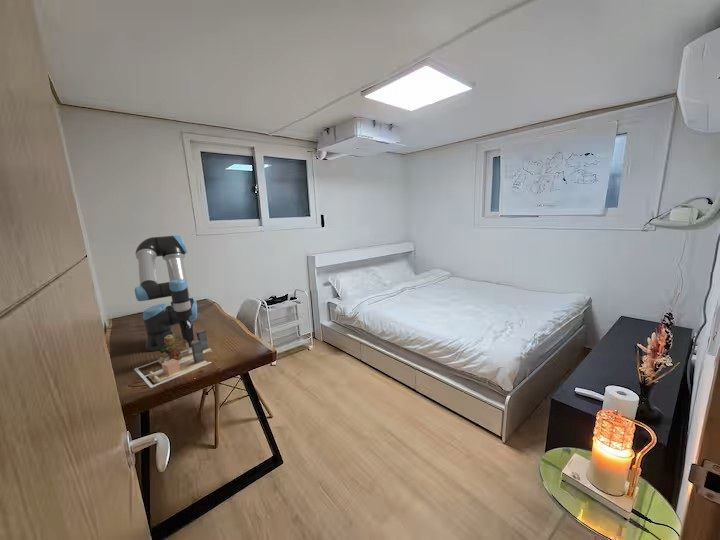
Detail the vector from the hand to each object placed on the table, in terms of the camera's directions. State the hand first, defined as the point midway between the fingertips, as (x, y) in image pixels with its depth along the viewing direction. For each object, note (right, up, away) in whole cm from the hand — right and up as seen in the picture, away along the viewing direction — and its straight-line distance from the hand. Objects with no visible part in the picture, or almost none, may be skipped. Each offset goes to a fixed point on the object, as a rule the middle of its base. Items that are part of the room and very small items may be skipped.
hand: (191, 352), depth 152 cm
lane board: (-1, -4, -11) cm, 12 cm away
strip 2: (+4, -5, -15) cm, 16 cm away
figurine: (-5, -4, -6) cm, 9 cm away
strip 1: (-1, -2, -2) cm, 3 cm away
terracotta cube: (+2, -4, -18) cm, 18 cm away
